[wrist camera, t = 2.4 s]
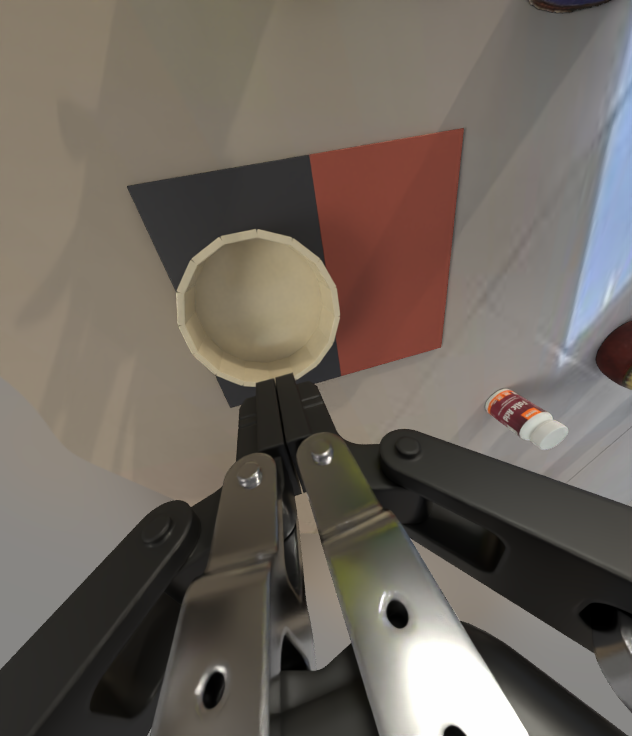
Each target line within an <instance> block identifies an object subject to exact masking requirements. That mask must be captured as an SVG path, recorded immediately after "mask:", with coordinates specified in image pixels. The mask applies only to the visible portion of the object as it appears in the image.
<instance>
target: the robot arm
mask: <svg viewBox="0 0 632 736" xmlns="http://www.w3.org/2000/svg"><path fill="white" fill-rule="evenodd" d="M275 379H276V382H275ZM275 379H274V378H271V379H268V380H264V381H261V382H257V383H256V396H254V397H250V398H247V399H245V401H244V402H243V404H242V406H241V407H240V410H239V425H238V427H239V429H238V440H237V455H236V462H235V463H234V464H233V465H232V466H231V468H230V469H229V470H228V472H227V473H226V476H225V478H224V482H223V486H222V487H221V488H220V489H219V490H217V491H216V492H215V493H213V494H212V495H210V496H208V497H207V498H205V499H204V500H202V501H200V502H199V503H197V504H195V505H194V506H192V507H190V506H189V505H188V503H186V502H184V501H181V500H175V501H170V502H167V503H164V504H162V505H160V506H159V507H157V508H155V509H154V510H152V511H151V512H150V513H149V514H148V515H146V516H145V517H144V518H143V519H142V520H141V521H140V522H139V524H138V525H137V526H136V527H135V528H134V529H133V530H132V531H131V532H130V533H129V534H128V535H127V536H126V537H125V538H124V539H123V540H122V541H121V543H120V544H119V545H118V546H117V547H116V548H115V549H114V550H113V551H112V552H111V553H110V554H109V555H108V556H107V557H106V558H105V559H104V561H103V562H102V563H101V564H100V565H99V566H98V567H97V568H96V569H95V570H94V571H93V572H92V573H91V574H90V575H89V576H88V578H87V579H86V580H85V581H84V582H83V583H82V584H81V585H80V586H79V587H78V588H77V589H76V590H75V591H74V592H73V593H72V594H71V595H70V597H69V598H68V599H67V600H66V601H65V602H64V603H63V604H62V605H61V606H60V607H59V608H58V609H57V610H56V611H55V612H54V614H53V615H52V616H51V617H50V618H49V619H48V620H47V621H46V622H45V623H44V624H43V625H42V626H41V627H40V628H39V629H38V631H37V632H36V633H35V634H34V635H33V636H32V637H31V638H30V639H29V640H28V641H27V642H26V643H25V644H24V645H23V646H22V647H21V648H20V649H19V650H18V652H17V653H16V654H15V655H14V656H13V657H12V658H11V659H10V660H9V661H8V662H7V663H6V664H5V666H3V667H2V668H1V670H0V736H147V735H148V733H149V731H150V729H151V728H152V729H151V733H150V736H628V735H626V734H625V733H624V732H622V731H621V730H620V729H618V728H617V727H616V726H615V725H613V724H612V723H610V722H609V721H608V720H606V719H605V718H604V717H602V716H601V715H600V714H599V713H597V712H596V711H595V710H593V709H592V708H591V707H589V706H588V705H587V704H585V703H584V702H583V701H581V700H580V699H579V698H577V697H576V696H575V695H573V694H572V693H571V692H569V691H568V690H567V689H566V688H564V687H563V686H562V685H560V684H559V683H558V682H556V681H555V680H554V679H552V678H551V677H550V676H548V675H547V674H546V673H544V672H543V671H542V670H540V669H539V668H538V667H536V666H535V665H534V664H532V663H531V662H530V661H528V660H527V659H526V658H524V657H523V656H522V655H520V654H519V653H518V652H516V651H515V650H514V649H512V648H511V647H510V646H508V645H507V644H505V643H504V642H502V641H501V640H499V639H498V638H496V637H494V636H492V635H491V634H489V633H487V632H486V631H484V630H481V629H480V628H477V627H475V626H473V625H471V624H469V623H466V622H462V621H459V619H458V617H457V616H456V614H455V612H454V611H453V609H452V607H451V606H450V604H449V603H448V601H447V599H446V597H445V596H444V594H443V592H442V591H441V589H440V588H439V586H438V584H437V583H436V581H435V579H434V578H433V576H432V575H431V573H430V571H429V569H428V568H427V566H426V564H425V563H424V561H423V559H422V558H421V556H420V554H419V553H418V551H417V549H416V548H415V546H414V544H413V543H412V541H411V540H410V538H411V539H412V540H414V541H415V542H417V543H419V544H420V545H422V546H424V547H425V548H427V549H428V550H430V551H431V552H433V553H435V554H436V555H438V556H440V557H441V558H443V559H444V560H446V561H448V562H449V563H451V564H452V565H454V566H455V567H457V568H459V569H460V570H462V571H463V572H465V573H467V574H468V575H470V576H471V577H473V578H475V579H476V580H478V581H479V582H481V583H483V584H484V585H486V586H488V587H489V588H491V589H492V590H494V591H495V592H497V593H499V594H500V595H502V596H504V597H505V598H507V599H508V600H510V601H511V602H513V603H515V604H516V605H518V606H520V607H521V608H523V609H524V610H526V611H527V612H529V613H531V614H532V615H534V616H535V617H537V618H539V619H540V620H542V621H543V622H545V623H547V624H548V625H550V626H552V627H553V628H555V629H556V630H558V631H560V632H561V633H563V634H564V635H566V636H567V637H569V638H571V639H572V640H574V641H576V642H577V643H579V644H580V645H582V646H583V647H585V648H587V649H588V650H590V651H591V652H593V653H595V656H596V659H597V662H598V664H599V666H600V668H601V671H602V673H603V674H604V676H605V678H606V679H607V681H608V683H609V685H610V686H611V687H612V689H613V691H614V692H615V693H616V695H617V696H618V698H619V699H620V700H621V701H622V702H623V703H624V704H625V706H626V707H627V708H628V709H629V710H630V711H631V713H632V507H630V506H628V505H625V504H622V503H619V502H616V501H614V500H611V499H608V498H605V497H602V496H599V495H597V494H594V493H591V492H588V491H585V490H582V489H580V488H577V487H574V486H571V485H568V484H565V483H563V482H560V481H557V480H554V479H551V478H548V477H546V476H543V475H540V474H537V473H534V472H531V471H529V470H526V469H523V468H520V467H517V466H514V465H512V464H509V463H506V462H503V461H500V460H497V459H495V458H492V457H489V456H486V455H483V454H480V453H478V452H475V451H472V450H469V449H466V448H463V447H461V446H458V445H455V444H452V443H449V442H446V441H444V440H441V439H438V438H435V437H432V436H429V435H427V434H424V433H421V432H418V431H415V430H410V429H398V430H394V431H391V432H389V433H388V434H386V435H385V436H384V437H383V438H382V440H381V442H380V444H367V445H363V444H354V443H351V442H349V441H346V440H345V439H343V438H342V437H341V436H340V435H339V434H338V432H337V431H336V428H335V426H334V424H333V422H332V419H331V417H330V415H329V413H328V410H327V408H326V406H325V403H324V401H323V399H322V397H321V394H320V392H319V390H318V387H317V386H316V385H314V384H313V383H311V382H310V381H306V382H303V383H299V384H296V381H295V378H294V375H293V373H289V374H286V375H282V376H278V377H275ZM299 481H300V482H299ZM300 484H301V486H302V489H303V492H304V493H305V492H307V496H308V499H309V502H310V505H311V509H312V512H313V515H314V519H315V522H316V525H317V528H318V532H319V535H320V539H321V543H322V547H323V550H324V554H325V557H326V560H327V563H328V566H329V570H330V573H331V577H332V580H333V583H334V587H335V590H336V593H337V597H338V600H339V603H340V607H341V610H342V613H343V616H344V620H345V623H346V626H347V630H348V633H349V636H350V640H351V644H350V645H349V646H348V647H346V648H345V649H344V650H343V651H342V652H341V653H340V654H339V655H338V656H337V657H335V658H334V659H333V660H332V661H331V662H330V663H329V664H328V665H327V666H325V667H324V668H323V669H320V670H317V669H316V659H315V650H314V640H313V633H312V627H311V621H310V616H309V612H308V608H307V602H306V596H305V585H304V574H303V563H302V552H301V541H300V530H299V521H298V517H297V509H296V503H295V497H294V496H296V495H299V494H302V493H301V487H300Z"/></svg>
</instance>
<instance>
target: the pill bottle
mask: <svg viewBox="0 0 632 736" xmlns="http://www.w3.org/2000/svg"><path fill="white" fill-rule="evenodd" d="M485 409H486V411H487V412H488V413H489V414H490V415H492V416H493V417H494V418H496V419H497V420H498V421H500V422H501V423H502V424H504V425H505V426H506V427H508V428H509V429H510V430H512V431H513V432H514V433H515V434H517V435H518V436H519V437H521V438H522V439H524V440H530V441H531V442H532V443H533V444H535V445H536V446H537V447H539V448H540V449H542V450H548V449H551V448H553V447H555V446H556V445H558V444H559V443H560V442H561V441H562V440H563V439H564V438H565V437H566V436H567V434H568V428H567V427H566V426H564V425H562V424H561V423H559V422H558V421H555V420H553V417H552V415H551V414H549V413H548V412H547V411H545V410H543V409H541V408H540V407H538V406H536V405H535V404H533V403H531V402H530V401H528V400H526V399H525V398H523V397H521V396H520V395H518V394H516V393H515V392H513V391H511V390H509V389H502V390H499V391H497V392H496V393H494V394H493V395H492V396H491V397H490V398H489V399H488V400H487V402H486V406H485Z"/></svg>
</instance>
